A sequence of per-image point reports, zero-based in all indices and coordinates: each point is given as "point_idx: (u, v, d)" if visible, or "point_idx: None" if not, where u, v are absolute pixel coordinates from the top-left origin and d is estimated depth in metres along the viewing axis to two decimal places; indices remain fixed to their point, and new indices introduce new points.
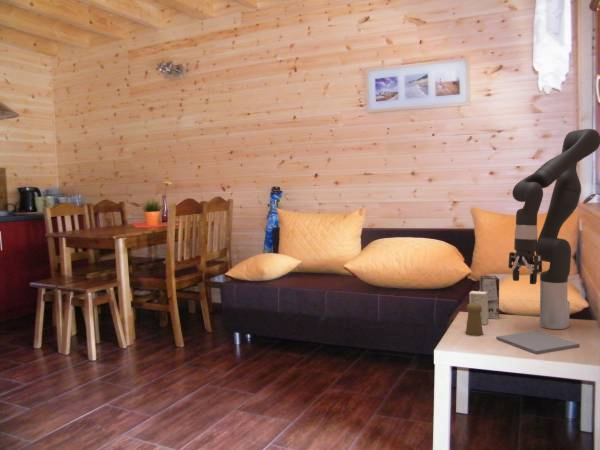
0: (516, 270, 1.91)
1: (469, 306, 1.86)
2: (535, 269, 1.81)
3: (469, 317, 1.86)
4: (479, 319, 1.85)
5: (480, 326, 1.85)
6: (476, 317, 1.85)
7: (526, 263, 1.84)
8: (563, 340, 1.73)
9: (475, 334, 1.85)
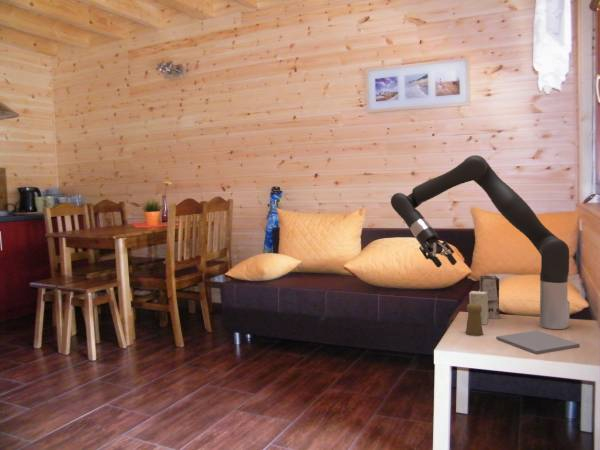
0: (448, 256, 2.00)
1: (469, 306, 1.86)
2: None
3: (469, 317, 1.86)
4: (479, 319, 1.85)
5: (480, 326, 1.85)
6: (476, 317, 1.85)
7: None
8: (563, 340, 1.73)
9: (475, 334, 1.85)
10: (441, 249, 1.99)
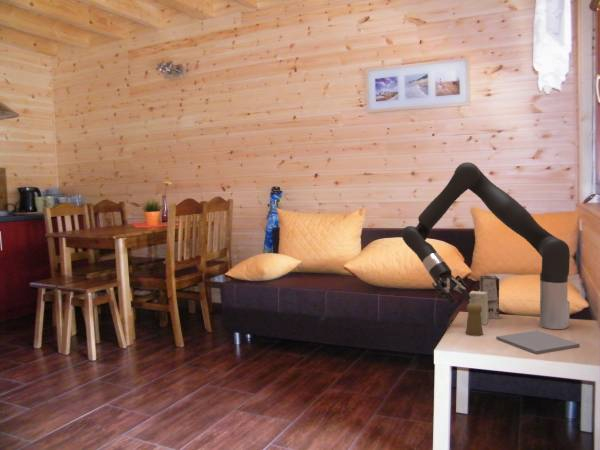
0: (462, 291, 1.96)
1: (469, 306, 1.86)
2: None
3: (469, 317, 1.86)
4: (479, 319, 1.85)
5: (480, 326, 1.85)
6: (476, 317, 1.85)
7: None
8: (563, 340, 1.73)
9: (475, 334, 1.85)
10: (455, 284, 1.95)
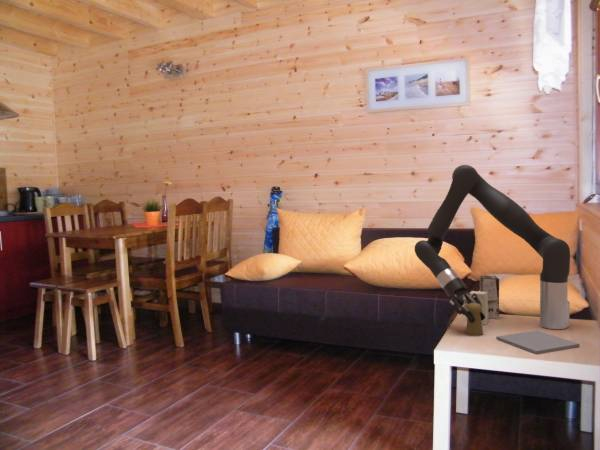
0: None
1: (469, 306, 1.86)
2: None
3: None
4: (479, 319, 1.85)
5: (480, 326, 1.85)
6: (476, 317, 1.85)
7: None
8: (563, 340, 1.73)
9: (475, 334, 1.85)
10: (469, 301, 1.89)
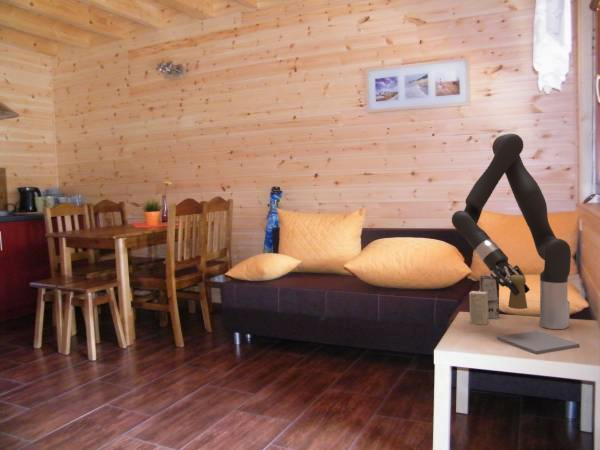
0: None
1: (512, 278, 1.76)
2: None
3: None
4: (523, 291, 1.75)
5: (524, 299, 1.75)
6: (520, 289, 1.75)
7: None
8: (563, 340, 1.73)
9: (519, 307, 1.75)
10: (511, 273, 1.79)
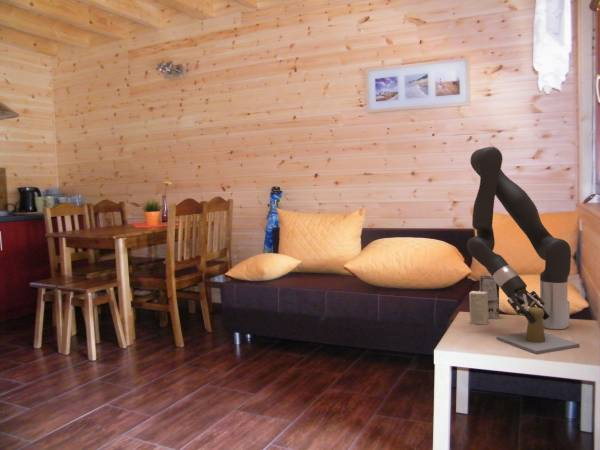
0: None
1: (530, 310, 1.73)
2: None
3: None
4: (541, 324, 1.72)
5: (542, 332, 1.72)
6: (538, 322, 1.72)
7: None
8: (563, 340, 1.73)
9: (537, 341, 1.71)
10: (531, 301, 1.76)
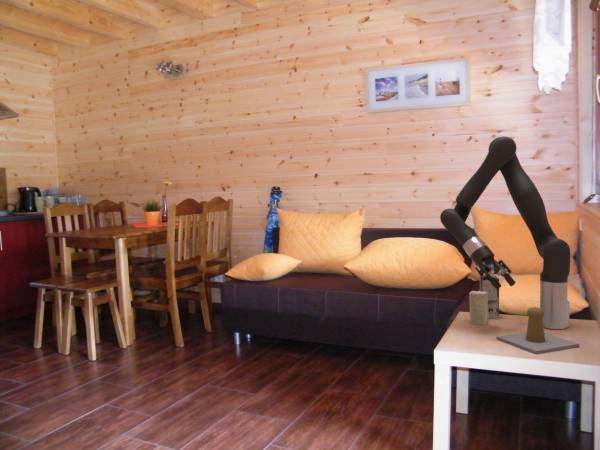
0: (506, 276, 1.87)
1: (530, 310, 1.73)
2: None
3: (530, 322, 1.73)
4: (541, 324, 1.72)
5: (542, 332, 1.72)
6: (538, 322, 1.72)
7: None
8: (563, 340, 1.73)
9: (537, 341, 1.71)
10: (498, 269, 1.86)
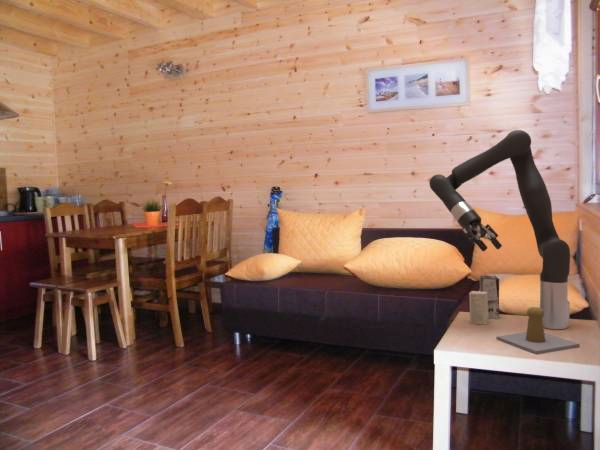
0: (492, 240, 1.90)
1: (530, 310, 1.73)
2: None
3: (530, 322, 1.73)
4: (541, 324, 1.72)
5: (542, 332, 1.72)
6: (538, 322, 1.72)
7: None
8: (563, 340, 1.73)
9: (537, 341, 1.71)
10: (485, 232, 1.89)
